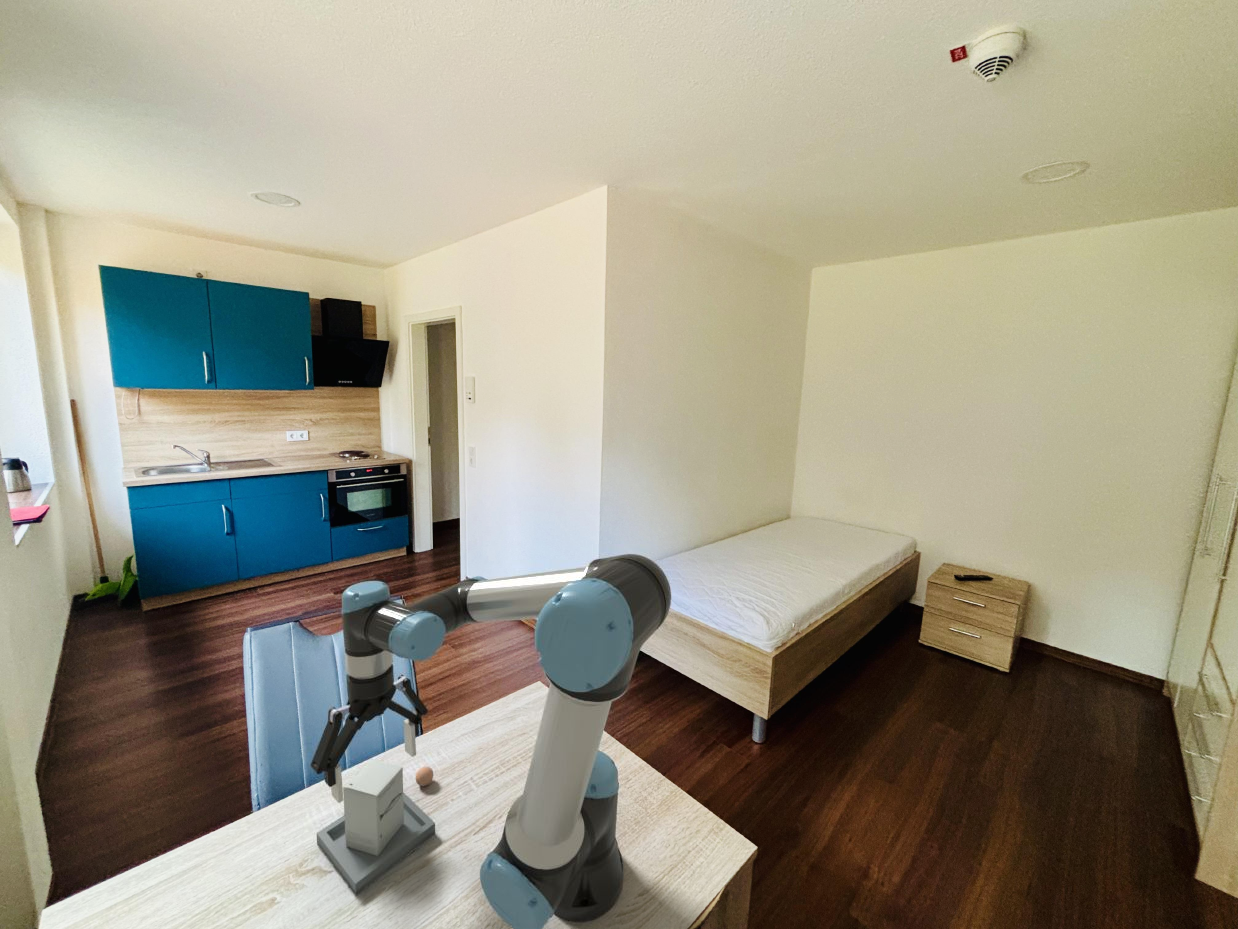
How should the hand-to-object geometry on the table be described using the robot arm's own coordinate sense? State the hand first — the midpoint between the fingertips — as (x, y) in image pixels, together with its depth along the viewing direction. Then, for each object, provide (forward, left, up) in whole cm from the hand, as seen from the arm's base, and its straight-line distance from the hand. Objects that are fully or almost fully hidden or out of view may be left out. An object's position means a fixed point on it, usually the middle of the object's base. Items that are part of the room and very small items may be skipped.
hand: (376, 774), depth 91 cm
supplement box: (+1, 0, -14) cm, 13 cm away
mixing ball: (+5, -13, -14) cm, 20 cm away
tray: (0, 0, -14) cm, 14 cm away
